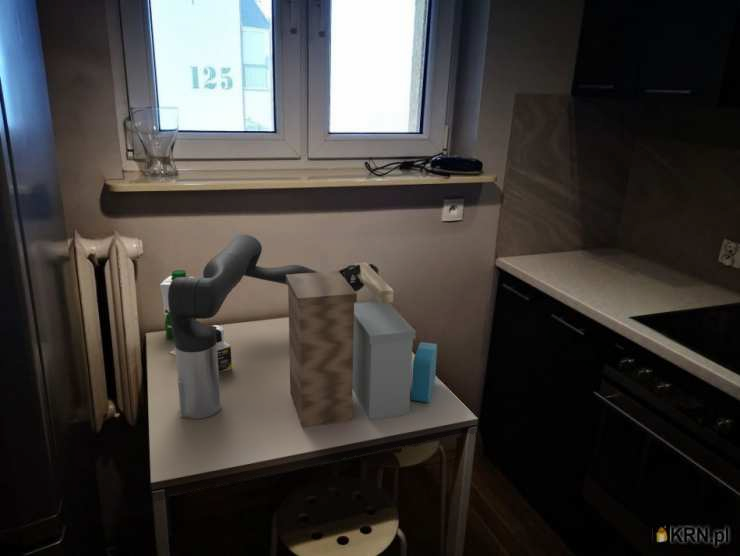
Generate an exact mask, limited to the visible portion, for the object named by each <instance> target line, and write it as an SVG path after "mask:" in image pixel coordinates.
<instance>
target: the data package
mask: <svg viewBox="0 0 740 556" xmlns="http://www.w3.org/2000/svg"><path fill="white" fill-rule="evenodd" d="M437 354H438V344H437V343H433V342H432V343H431V342H424V341H423V342H422V341H420V342H419V344H418V347H417V350H416V352H415V355H414V357H413V363H412V364H413V365H412V376H411V378H412V380H411V382H412V383H411V393H410V399H411V401H415V402H421V403H427V404H428V403H430V401H431V397H432V393H433V391H434V390H433V389H434V386H435V382H436V372H437V371H436V369H437V368H436V367H437V356H438V355H437Z"/></svg>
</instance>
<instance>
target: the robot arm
mask: <svg viewBox="0 0 740 556" xmlns="http://www.w3.org/2000/svg"><path fill="white" fill-rule="evenodd" d="M262 251H263V247H262V244H261V242H260V241H259V240H258V239H257V238H256V237H254V236H253V235H249V234H238V235H235V236H234V237H233V238H232V240H231V241H230V243H229V244H228V245H227V247H225V248H224V249H223V250H221V251H220V252H219V253H218V254H216V255H215V256H214V257H212V258H211V259H210V260H209V261H208V262H207V263H206V265H205V267H204V269H203V272H202V276H203V277H193V276H186V277H178V278H175V279H174V280H172V282H171V284H170V286H169V290H168V305H169V312H170V318H171V325H172V333H173V337H174V339H173V340H174V345H175V346H174V347H175V348H174V349H176V355H175V356H176V366H177V367H176V368H177V385H178V389H177V390H178V397H179V399H178V400H179V409H180V417H181V418H188V419H195V420H196V419H197V420H199V419H205V418H208V417H212V416H214V415H215V414H216V413H218V412H219V411H221V406H222V404H221V400H222V399H221V388H220V387H221V386H220V372H219V371H218V356H217V340H216V333H215V331H214V330H213V329H212V328H211V327H209V326H210V325H207V324H204V323H201V322H200V321H199V320H198V319H201V320H203V319H204V320H205V319H211V318H213V317H215V316H216V314H218V312H220V309H221V307H222V305H223V304H224V303H225V301H226V299H227V297H228V295H230V293H231V292H232V290H233V289H235V287H237V286H238V284H239V283H240V282H241V281H242V279H243V278H244V276H245V277H250V278H253V279H258V280H261V281H267V282H271V283H273V282H274V283H278V284H282V285H286V286H287V284H286V275H287V274H302V273H317V272H318V271H317V270H314V269H311V268H309V267H306V266H304V265H300V264H289V265H282V266H278V267H264V266H258V265H257V264H258V262H259V259H260V257H261V254H262ZM368 265H369V266H370V267H371V268H372V269H373V270H374V271H375V272H376V273H377V274H378V275H379V276H380V271H379V268H378V267H377V265H376V266H375V265H374V264H373V263H369V264H368ZM338 271H339V272H340V273H341V275H342V276H343V277H344V278H345V280H346V281H347V282H348V283H349V284H350V286H351V287H352V288H353V289H354V291H355V292H356V293H358V292H359V291H360V290H362V289H363V288H364V286H365V285H364V284H363V282H362V281H361V280H360V279H359V278H358V277H357V276H356V275H358V274H359V273H360V265H356V266H355V264H350V265H347V266H345V267H344V268H342V269H340V270H338ZM192 277H193V278H192ZM195 318H197V320H196V319H195Z"/></svg>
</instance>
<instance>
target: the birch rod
mask: <svg viewBox="0 0 740 556" xmlns="http://www.w3.org/2000/svg"><path fill="white" fill-rule="evenodd" d="M354 265H355V266H356V265H360V273H359V274H358V275H356V276H357V277H358V278H359V279H360V280H361V281H362V282H363V284H364V286H365V287H366V288H367V289H368V290H369V292H370V293H371V294H372V295H373V296H374V297H375V299H376V300H377V301H379V302H380V303H390V304H391V303H394V289H393V287H391V286H390V285H389V284H388V283H387V282H386V281H385V280H384V279H383V278H382V277H381V276H380V274H379V275H378V274H377V273H376V272H375V271H374V270H373V269H372V268H371V267H370V266H369V264H368V263H367V262H354Z"/></svg>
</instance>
